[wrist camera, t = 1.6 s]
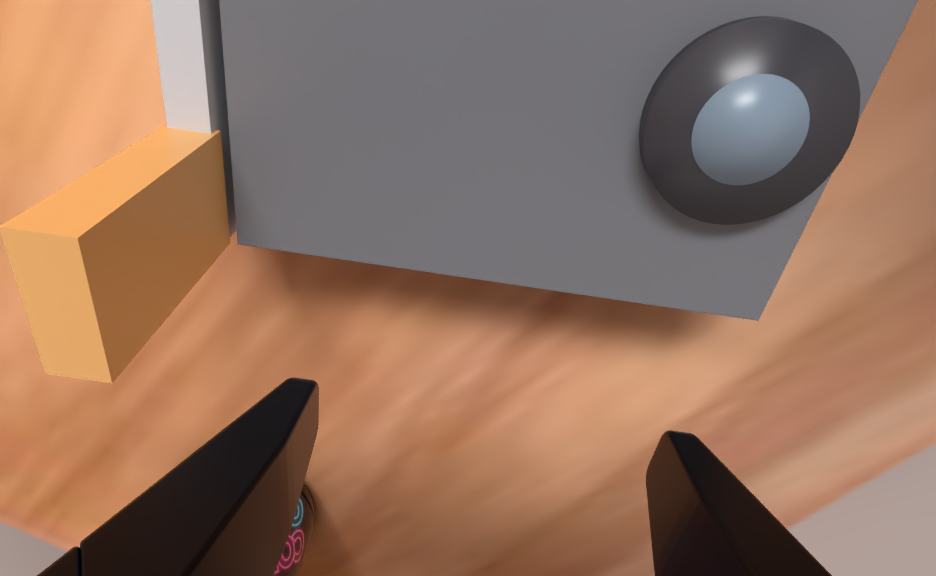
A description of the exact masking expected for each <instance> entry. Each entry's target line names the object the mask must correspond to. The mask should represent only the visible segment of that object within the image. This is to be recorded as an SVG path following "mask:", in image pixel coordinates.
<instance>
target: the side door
mask: <svg viewBox="0 0 936 576" xmlns="http://www.w3.org/2000/svg"><path fill="white" fill-rule="evenodd" d="M150 1H151V8H152V16H153V24H154V31H155V39H156V46H157V54H158V61H159V69H160V76H161V84H162V92H163V99H164V107H165V114H166V122H167V124H166V125H165V126H163V127H161V128H160V129H158V130H157V131H155V132H153V133H152V134H150V135H148V136H147V137H145V138H143V139H142V140H140V141H138V142H137V143H135V144H134V145H132V146H130V147H129V148H127V149H125V150H124V151H122V152H120V153H119V154H117V155H116V156H114V157H112V158H111V159H109V160H107V161H106V162H104V163H102V164H101V165H99V166H97V167H96V168H94V169H93V170H91V171H89V172H88V173H86V174H84V175H83V176H81V177H79V178H78V179H76V180H74V181H73V182H71V183H70V184H68V185H66V186H65V187H63V188H61V189H60V190H58V191H56V192H55V193H53V194H52V195H50V196H48V197H47V198H45V199H43V200H42V201H40V202H38V203H37V204H35V205H33V206H32V207H30V208H29V209H27V210H25V211H24V212H22V213H20V214H19V215H17V216H15V217H14V218H12V219H10V220H9V221H7V222H6V223H4V224H2V225H1V226H0V232H1V235H2V238H3V242H4V245H5V248H6V251H7V254H8V257H9V261H10V264H11V267H12V270H13V273H14V276H15V280H16V283H17V286H18V289H19V292H20V295H21V299H22V302H23V305H24V308H25V311H26V314H27V318H28V321H29V324H30V327H31V330H32V333H33V337H34V340H35V343H36V346H37V349H38V352H39V356H40V359H41V362H42V365H43V368H44V371H45V374H48V375H56V376H63V377H70V378H77V379H85V380H92V381H99V382H106V383H113V382H114V380H115V379H116V378H117V377H118V376H119V375H120V373H121V372H122V371H123V370H124V369H125V367H126V366H127V365H128V364H129V363H130V361H131V360H132V359H133V358H134V357H135V356H136V354H137V353H138V352H139V351H140V350H141V348H142V347H143V346H144V345H145V344H146V342H147V341H148V340H149V339H150V338H151V336H152V335H153V334H154V333H155V332H156V331H157V329H158V328H159V327H160V326H161V325H162V323H163V322H164V321H165V320H166V319H167V317H168V316H169V315H170V314H171V313H172V311H173V310H174V309H175V308H176V307H177V306H178V304H179V303H180V302H181V301H182V300H183V298H184V297H185V296H186V295H187V294H188V292H189V291H190V290H191V289H192V288H193V287H194V285H195V284H196V283H197V282H198V281H199V279H200V278H201V277H202V276H203V275H204V273H205V272H206V271H207V270H208V269H209V267H210V266H211V265H212V264H213V263H214V262H215V260H216V259H217V258H218V257H219V256H220V254H221V253H222V252H223V251H224V250H225V248H226V247H227V246H228V245H229V244H230V237H231V236H232V235H233V234H234V233H235V232H236V230H237V228H236V215H235V202H234V188H233V175H232V162H231V149H230V136H229V123H228V109H227V96H226V83H225V70H224V57H223V43H222V30H221V17H220V4H219V0H150Z"/></svg>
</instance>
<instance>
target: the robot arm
mask: <svg viewBox="0 0 936 576" xmlns="http://www.w3.org/2000/svg"><path fill="white" fill-rule="evenodd" d="M318 418H319V387H318V384H317V383H316V382H315V381H313V380H307V379H300V378H289V379H287V380H285V381H284V382H283V383H282V384H280V385H279V386H278V387H277V388H275V389H274V390H273V391H271V392H270V393H269V394H268V395H266V396H265V397H264V398H263V399H261V400H260V401H259V402H258V403H256V404H255V405H254V406H252V407H251V408H250V409H249V410H247V411H246V412H245V413H244V414H242V415H241V416H240V417H238V418H237V419H236V420H235V421H233V422H232V423H231V424H230V425H228V426H227V427H226V428H225V429H223V430H222V431H221V432H219V433H218V434H217V435H216V436H214V437H213V438H212V439H211V440H209V441H208V442H207V443H205V444H204V445H203V446H202V447H200V448H199V449H198V450H197V451H195V452H194V453H193V454H191V455H190V456H189V457H188V458H186V459H185V460H184V461H183V462H181V463H180V464H179V465H178V466H176V467H175V468H174V469H172V470H171V471H170V472H169V473H167V474H166V475H165V476H164V477H162V478H161V479H160V480H158V481H157V482H156V483H155V484H153V485H152V486H151V487H150V488H148V489H147V490H146V491H145V492H143V493H142V494H141V495H139V496H138V497H137V498H136V499H134V500H133V501H132V502H131V503H129V504H128V505H127V506H125V507H124V508H123V509H122V510H120V511H119V512H118V513H117V514H115V515H114V516H113V517H112V518H110V519H109V520H108V521H106V522H105V523H104V524H103V525H101V526H100V527H99V528H98V529H96V530H95V531H94V532H92V533H91V534H90V535H89V536H87V537H86V538H85V539H84V540H82V541H81V543H80V548H79V547H73V548H72V549H70V550H69V551H68V552H67V553H65V554H64V555H63V556H62V557H61V558H59V559H58V560H57V561H55V562H54V563H53V564H52V565H50V566H49V567H48V568H46V569H45V570H44V571H43V572H41V573H40V574H38V575H37V576H273V575H274V573H275V570H276V568H277V565H278V563H279V560H280V558H281V555H282V553H283V550H284V547H285V545H286V542H287V539H288V536H289V534H290V530H291V527H292V524H293V520H294V517H295V513H296V510H297V506H298V502H299V498H300V495H301V491H302V487H303V484H304V480H305V476H306V472H307V469H308V465H309V461H310V458H311V454H312V450H313V446H314V443H315V439H316V435H317V429H318ZM646 488H647V498H648V509H649V519H650V530H651V541H652V551H653V562H654V571H655V576H832V575H831V574H830V573H829V572H828V571H827V570H826V569H825V568H824V567H823V566H822V565H821V564H820V563H819V562H818V561H817V560H816V559H815V558H814V557H813V556H812V555H811V554H810V553H809V552H808V551H807V550H806V549H805V548H804V546H803V545H802V544H801V543H800V542H799V541H798V540H797V539H796V538H795V537H794V536H793V535H792V534H791V533H790V532H789V531H788V530H787V529H786V528H785V527H784V526H783V525H782V524H781V523H780V522H779V521H778V520H777V519H776V518H775V517H774V516H773V515H772V514H771V512H770V511H769V510H768V509H767V508H766V507H765V506H764V505H763V504H762V503H761V502H760V501H759V500H758V499H757V498H756V497H755V496H754V495H753V494H752V493H751V492H750V491H749V490H748V489H747V488H746V487H745V486H744V485H743V484H742V483H741V482H740V481H739V480H738V479H737V477H736V476H735V475H734V474H733V473H732V472H731V471H730V470H729V469H728V468H727V467H726V466H725V465H724V464H723V463H722V462H721V461H720V460H719V459H718V458H717V457H716V456H715V455H714V454H713V453H712V452H711V451H710V450H709V449H708V448H707V447H706V446H705V445H704V443H703V442H702V441H701V440H700V439H699V438H698V437H696V436H695V435H693V434H691V433H685V432H678V431H666V432H665V433H664V434H663V435H662V437H661V439H660V441H659V443H658V445H657V448H656V450H655V452H654V454H653V456H652V459H651V461H650V463H649V466H648V468H647V473H646Z"/></svg>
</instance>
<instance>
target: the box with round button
mask: <svg viewBox="0 0 936 576" xmlns="http://www.w3.org/2000/svg"><path fill="white" fill-rule="evenodd" d="M917 2H918V0H219V4H220V17H221V30H222V43H223V57H224V70H225V83H226V96H227V109H228V123H229V136H230V149H231V162H232V175H233V188H234V202H235V215H236V228H237V241H238V244H240V245H247V246H254V247H260V248H267V249H274V250H281V251H288V252H294V253H301V254H308V255H315V256H322V257H328V258H335V259H342V260H349V261H356V262H362V263H369V264H376V265H383V266H390V267H396V268H403V269H410V270H417V271H424V272H430V273H437V274H444V275H451V276H458V277H464V278H471V279H478V280H485V281H492V282H498V283H505V284H512V285H519V286H526V287H532V288H539V289H546V290H553V291H560V292H566V293H573V294H580V295H587V296H594V297H600V298H607V299H614V300H621V301H628V302H634V303H641V304H648V305H655V306H662V307H669V308H675V309H682V310H689V311H696V312H703V313H709V314H716V315H723V316H730V317H737V318H743V319H750V320H757V321H758V320H759V318H760V316H761V314H762V312H763V310H764V308H765V306H766V304H767V302H768V300H769V298H770V296H771V294H772V292H773V290H774V288H775V286H776V284H777V282H778V280H779V278H780V276H781V274H782V272H783V270H784V268H785V266H786V264H787V262H788V260H789V258H790V256H791V254H792V252H793V250H794V248H795V246H796V244H797V242H798V240H799V238H800V236H801V234H802V232H803V230H804V228H805V226H806V224H807V222H808V220H809V218H810V216H811V214H812V212H813V210H814V208H815V206H816V204H817V202H818V200H819V198H820V196H821V194H822V192H823V190H824V188H825V186H826V184H827V182H828V180H829V178H830V176H831V174H832V172H833V171H834V169H835V168H836V167H837V165H838V164H839V163H840V161H841V160H842V158H843V156H844V154H845V153H846V151H847V149H848V147H849V145H850V143H851V140H852V138H853V136H854V133H855V130H856V126H857V123H858V120H859V118H860V116H861V114H862V112H863V110H864V108H865V106H866V104H867V102H868V100H869V98H870V96H871V94H872V92H873V90H874V88H875V86H876V84H877V82H878V80H879V78H880V76H881V74H882V72H883V70H884V68H885V66H886V64H887V62H888V60H889V58H890V56H891V54H892V52H893V50H894V48H895V46H896V44H897V42H898V40H899V38H900V36H901V34H902V32H903V30H904V28H905V26H906V24H907V22H908V20H909V18H910V16H911V14H912V12H913V10H914V8H915V6H916V4H917Z"/></svg>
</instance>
